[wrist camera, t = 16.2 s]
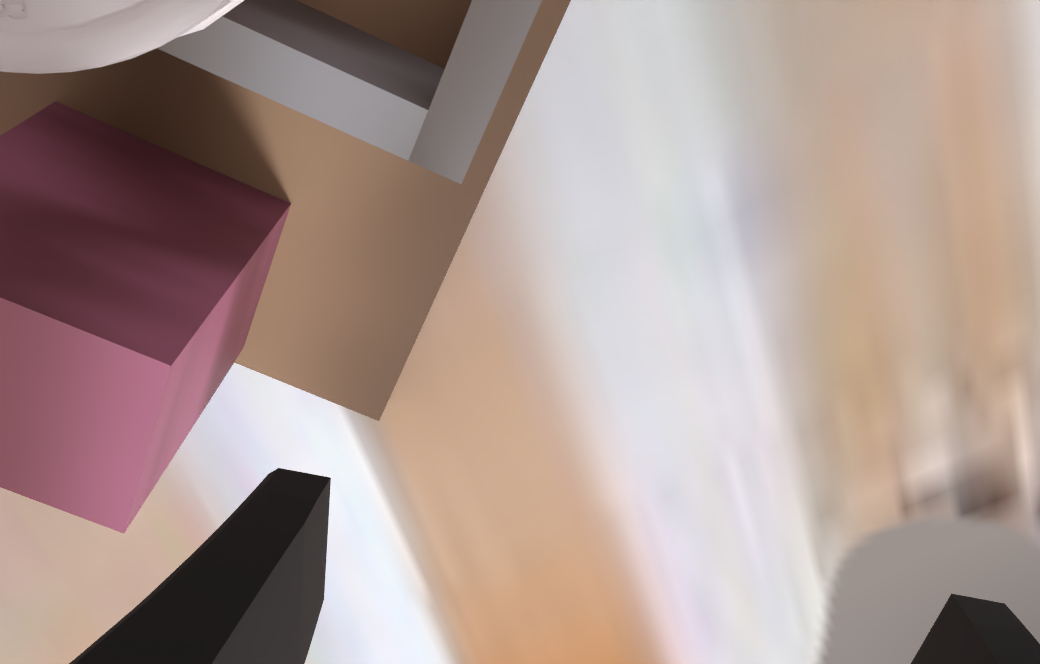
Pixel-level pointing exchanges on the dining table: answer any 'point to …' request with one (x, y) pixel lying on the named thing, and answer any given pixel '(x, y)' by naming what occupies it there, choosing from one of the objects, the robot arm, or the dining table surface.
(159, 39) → the smoothie
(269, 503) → the robot arm
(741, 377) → the dining table surface
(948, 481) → the dining table surface
